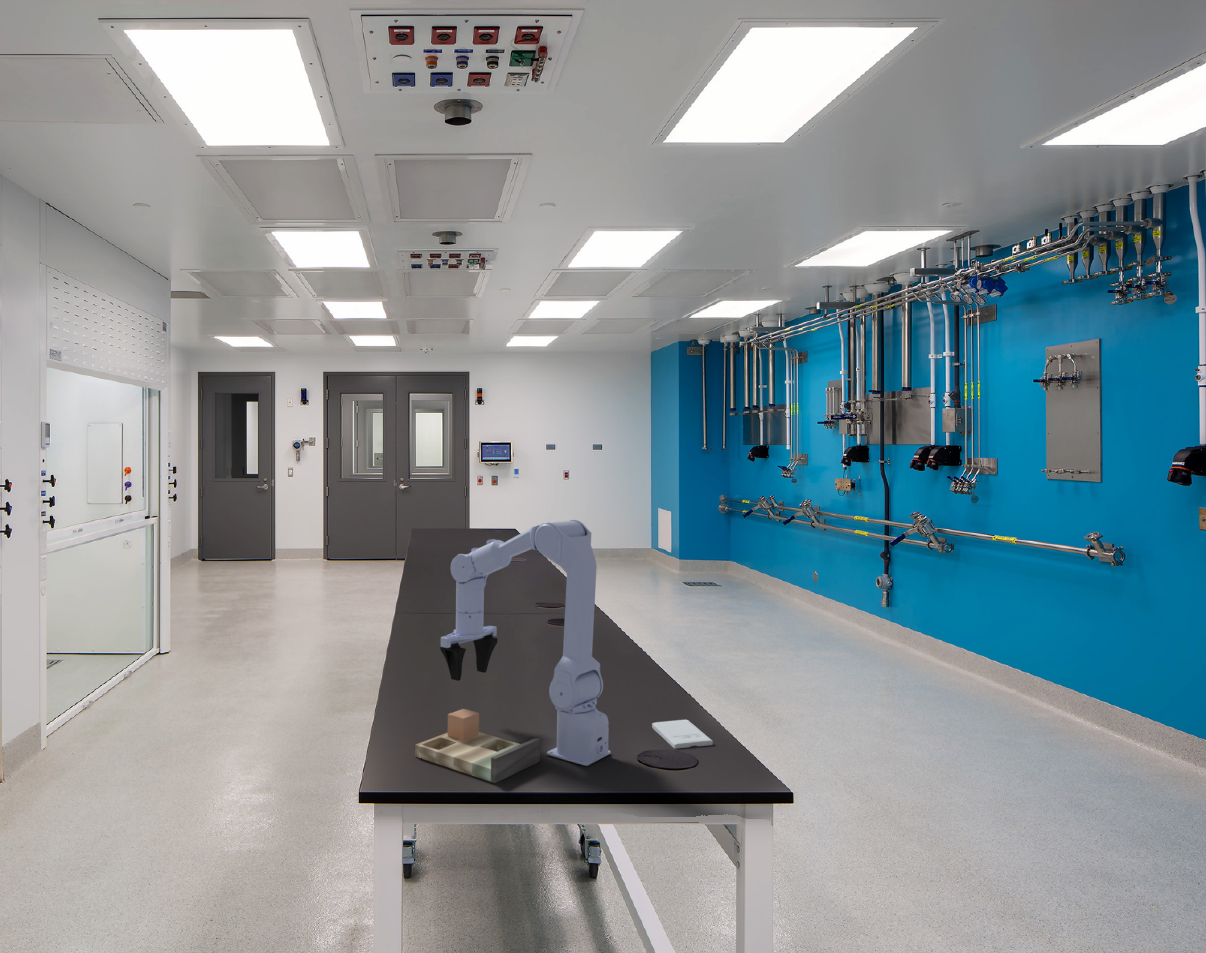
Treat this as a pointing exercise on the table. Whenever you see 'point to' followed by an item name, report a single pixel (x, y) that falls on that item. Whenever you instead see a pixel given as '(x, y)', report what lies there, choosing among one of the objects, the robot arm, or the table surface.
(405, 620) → the table surface
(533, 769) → the table surface
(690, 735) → the external hard drive
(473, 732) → the block
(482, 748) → the trap board
